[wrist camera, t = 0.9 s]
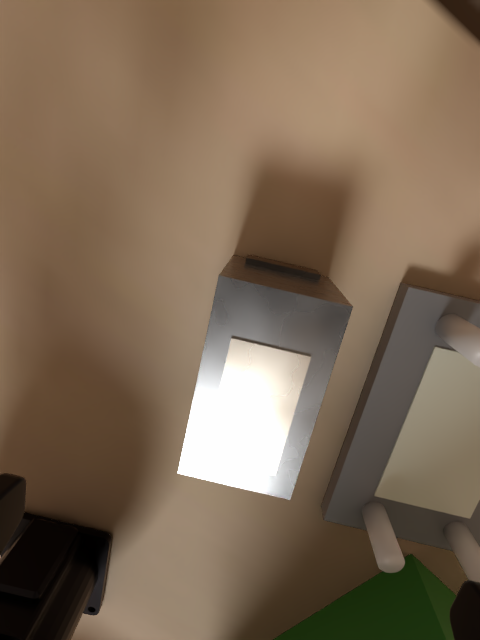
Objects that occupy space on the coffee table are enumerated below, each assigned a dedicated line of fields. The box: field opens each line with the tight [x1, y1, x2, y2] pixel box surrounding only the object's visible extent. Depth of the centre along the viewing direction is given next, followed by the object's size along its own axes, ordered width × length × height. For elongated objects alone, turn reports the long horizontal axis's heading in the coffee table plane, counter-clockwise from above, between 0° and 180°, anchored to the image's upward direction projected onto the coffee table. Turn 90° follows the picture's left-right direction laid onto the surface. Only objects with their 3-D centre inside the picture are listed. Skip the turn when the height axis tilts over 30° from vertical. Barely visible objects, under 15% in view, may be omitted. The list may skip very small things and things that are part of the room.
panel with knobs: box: [321, 283, 480, 582], centre depth 17 cm, size 13×9×4 cm
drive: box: [178, 254, 353, 500], centre depth 16 cm, size 8×4×6 cm, turn 167°
